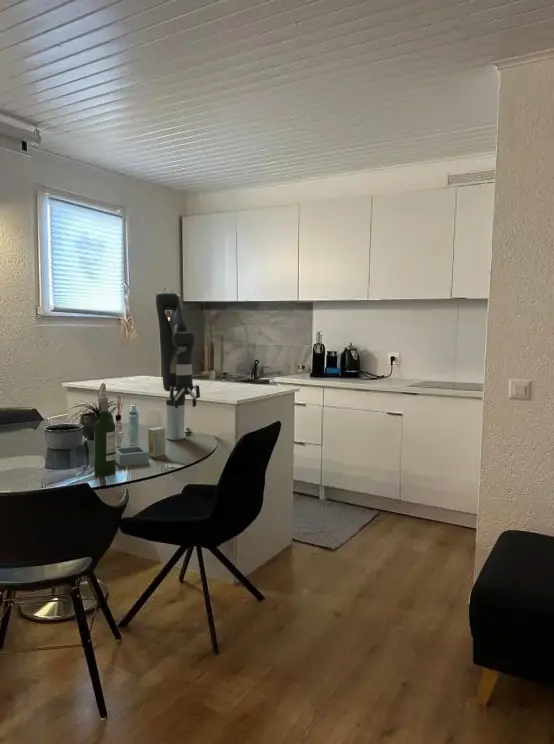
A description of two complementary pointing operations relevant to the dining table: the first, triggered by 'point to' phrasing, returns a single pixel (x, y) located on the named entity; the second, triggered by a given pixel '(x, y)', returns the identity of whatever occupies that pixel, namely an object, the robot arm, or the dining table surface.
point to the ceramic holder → (131, 456)
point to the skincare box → (156, 441)
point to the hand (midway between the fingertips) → (185, 407)
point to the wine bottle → (104, 442)
